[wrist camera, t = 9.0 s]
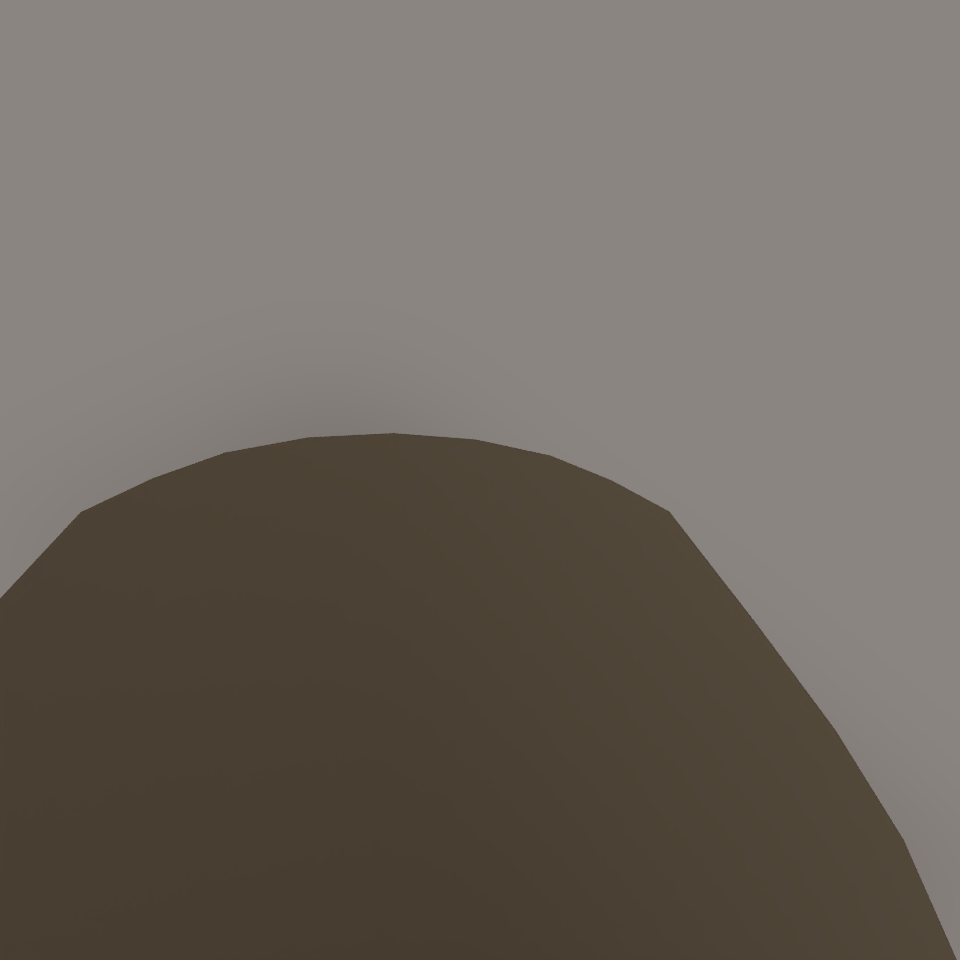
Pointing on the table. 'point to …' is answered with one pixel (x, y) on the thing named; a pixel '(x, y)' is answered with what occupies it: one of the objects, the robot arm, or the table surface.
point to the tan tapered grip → (419, 729)
